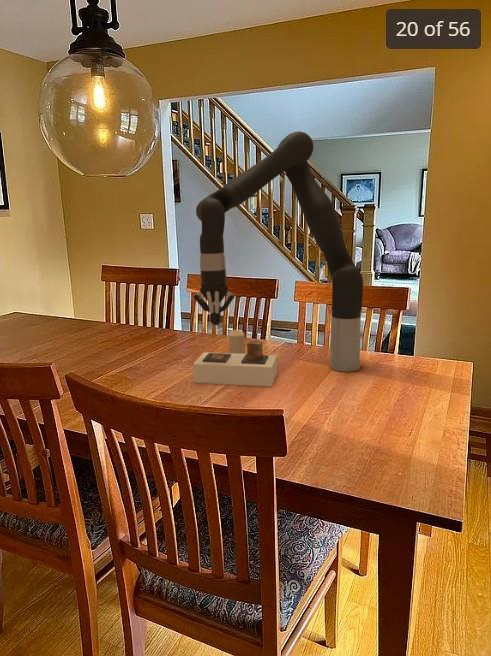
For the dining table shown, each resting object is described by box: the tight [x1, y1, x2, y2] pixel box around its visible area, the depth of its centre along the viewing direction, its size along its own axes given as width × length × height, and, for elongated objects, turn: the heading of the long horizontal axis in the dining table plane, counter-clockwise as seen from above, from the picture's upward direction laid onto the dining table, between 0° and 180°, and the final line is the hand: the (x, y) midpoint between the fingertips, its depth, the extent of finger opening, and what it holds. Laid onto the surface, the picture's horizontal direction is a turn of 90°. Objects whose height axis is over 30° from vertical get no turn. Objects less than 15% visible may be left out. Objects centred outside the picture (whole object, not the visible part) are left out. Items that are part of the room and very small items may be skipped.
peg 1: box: [210, 355, 225, 359], centre depth 154 cm, size 4×4×7 cm
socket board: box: [192, 352, 278, 387], centre depth 153 cm, size 24×12×7 cm, turn 79°
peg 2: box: [246, 339, 264, 361], centre depth 150 cm, size 4×4×7 cm
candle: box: [228, 329, 246, 354], centre depth 172 cm, size 6×6×10 cm
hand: (216, 324), depth 150 cm, fingers closed
